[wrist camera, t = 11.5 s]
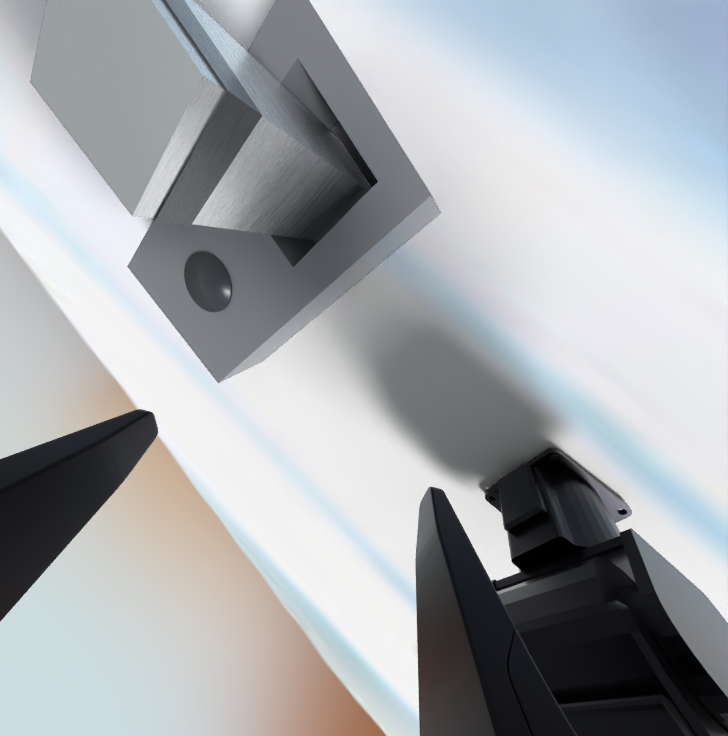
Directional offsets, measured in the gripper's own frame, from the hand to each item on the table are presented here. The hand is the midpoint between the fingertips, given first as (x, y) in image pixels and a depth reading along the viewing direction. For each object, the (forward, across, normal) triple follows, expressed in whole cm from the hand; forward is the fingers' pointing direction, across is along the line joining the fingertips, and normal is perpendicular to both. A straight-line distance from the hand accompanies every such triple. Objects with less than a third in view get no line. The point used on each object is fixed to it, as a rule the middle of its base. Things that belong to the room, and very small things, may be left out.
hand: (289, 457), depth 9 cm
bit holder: (+15, +6, -3) cm, 16 cm away
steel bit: (+15, +3, -7) cm, 17 cm away
